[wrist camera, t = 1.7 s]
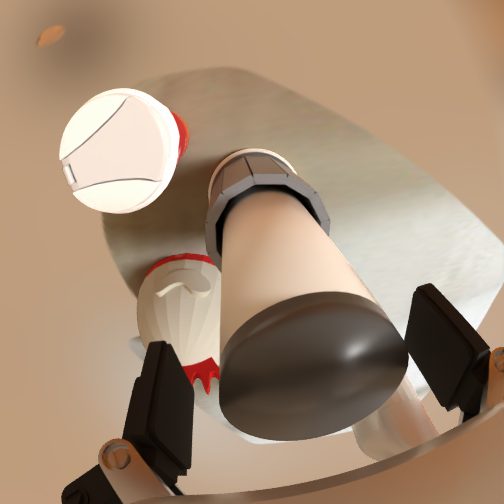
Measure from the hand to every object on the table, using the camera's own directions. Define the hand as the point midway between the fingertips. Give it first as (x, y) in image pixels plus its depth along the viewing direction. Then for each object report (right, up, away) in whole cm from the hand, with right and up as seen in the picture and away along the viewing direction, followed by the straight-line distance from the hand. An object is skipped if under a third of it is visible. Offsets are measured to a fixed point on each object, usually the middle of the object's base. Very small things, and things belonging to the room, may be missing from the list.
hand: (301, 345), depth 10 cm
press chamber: (-2, +10, +22) cm, 24 cm away
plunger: (-1, +6, +14) cm, 15 cm away
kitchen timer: (-10, -3, +27) cm, 29 cm away
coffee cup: (-11, +16, +18) cm, 26 cm away
